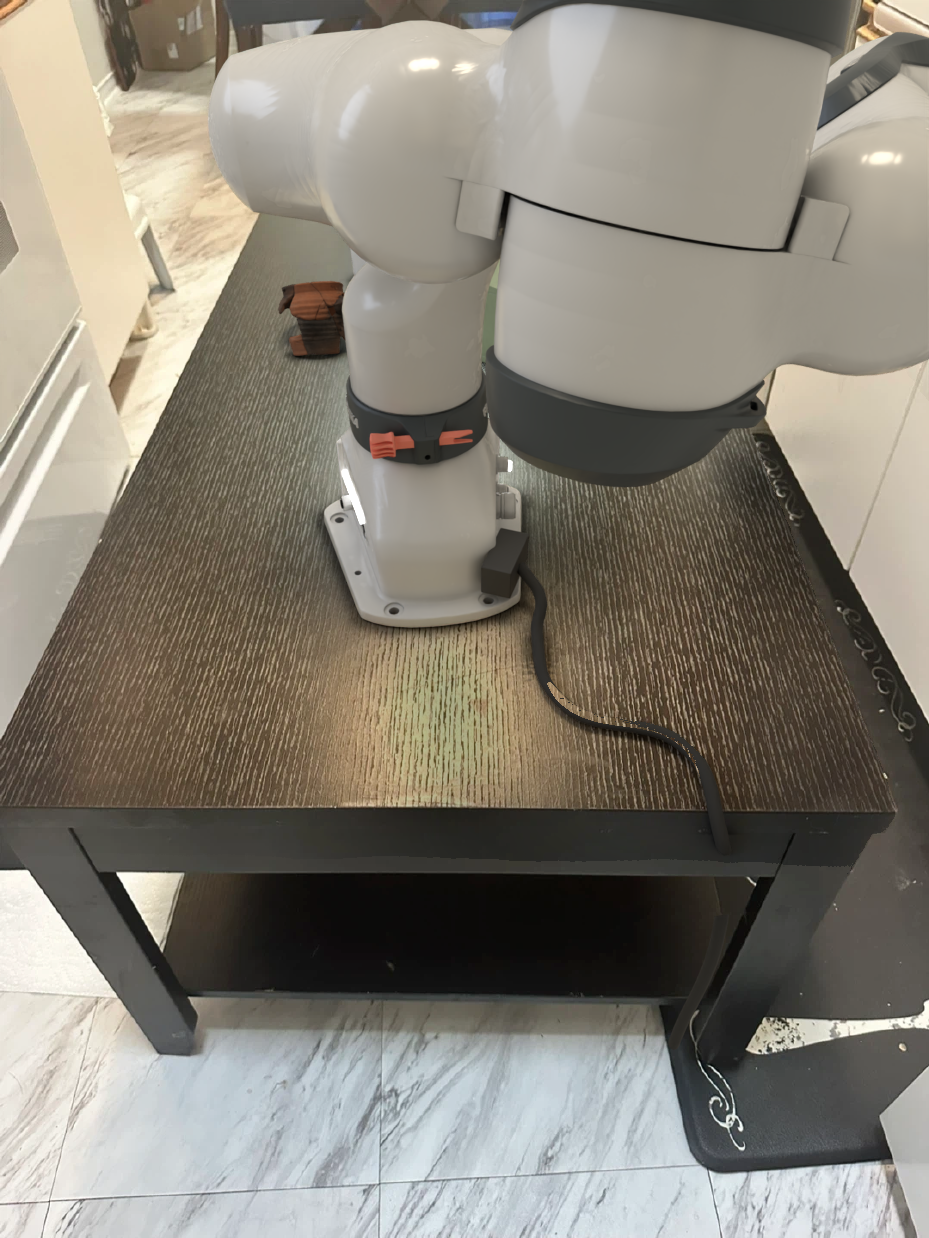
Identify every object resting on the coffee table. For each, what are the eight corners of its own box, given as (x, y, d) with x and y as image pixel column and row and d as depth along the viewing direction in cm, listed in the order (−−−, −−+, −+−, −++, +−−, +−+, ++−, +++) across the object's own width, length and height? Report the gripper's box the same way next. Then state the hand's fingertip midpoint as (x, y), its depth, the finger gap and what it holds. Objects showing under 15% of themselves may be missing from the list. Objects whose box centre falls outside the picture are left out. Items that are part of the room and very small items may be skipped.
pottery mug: (268, 360, 106) (258, 287, 104) (311, 359, 114) (302, 291, 112) (355, 350, 101) (347, 273, 99) (394, 350, 109) (386, 279, 107)
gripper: (837, 334, 70) (706, 399, 81) (938, 250, 80) (809, 318, 92) (799, 262, 69) (672, 338, 80) (907, 186, 79) (781, 263, 91)
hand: (746, 327), depth 86 cm, fingers open, 8 cm apart
